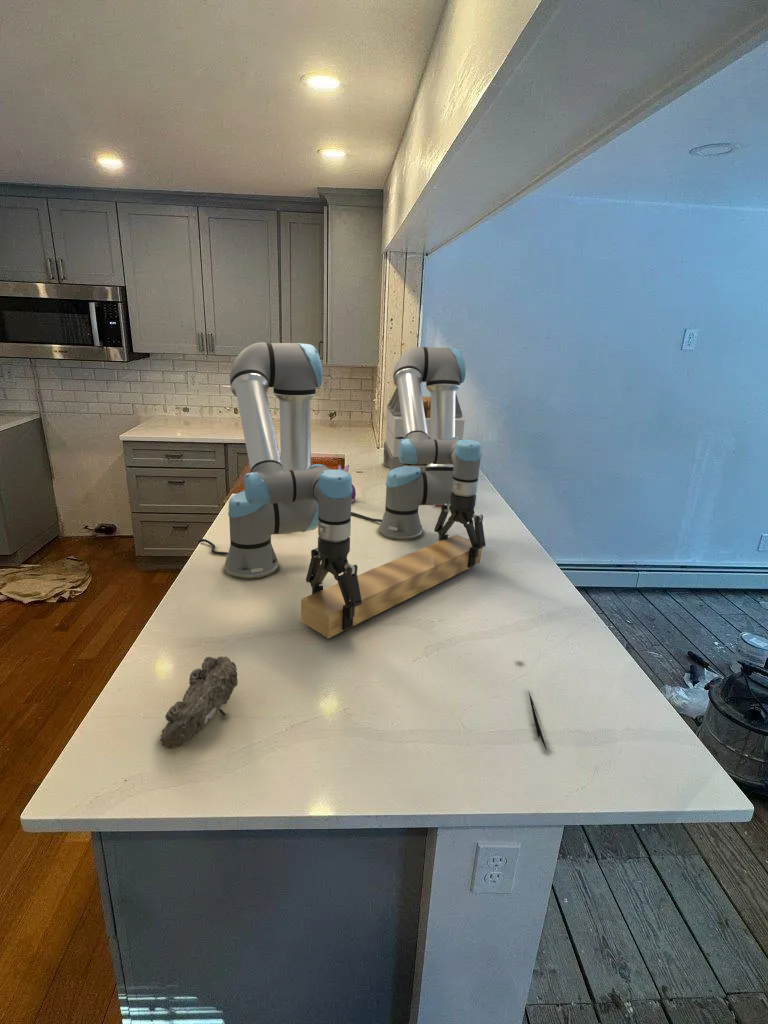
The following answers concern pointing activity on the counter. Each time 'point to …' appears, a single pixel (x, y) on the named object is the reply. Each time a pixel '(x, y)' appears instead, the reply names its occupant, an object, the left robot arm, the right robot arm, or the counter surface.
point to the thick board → (389, 584)
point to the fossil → (200, 701)
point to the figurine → (352, 484)
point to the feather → (536, 721)
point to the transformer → (396, 430)
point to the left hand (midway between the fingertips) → (332, 618)
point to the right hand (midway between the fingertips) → (456, 560)
